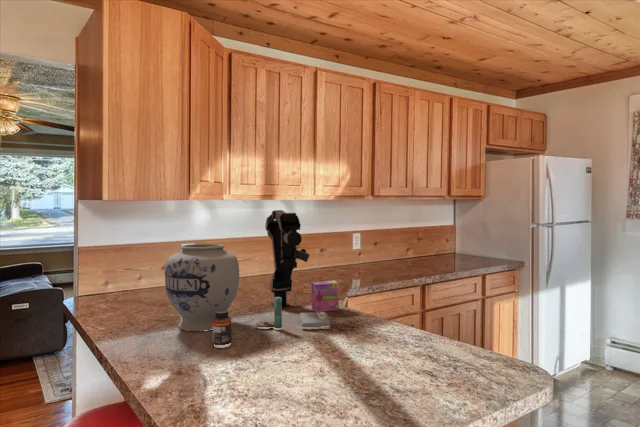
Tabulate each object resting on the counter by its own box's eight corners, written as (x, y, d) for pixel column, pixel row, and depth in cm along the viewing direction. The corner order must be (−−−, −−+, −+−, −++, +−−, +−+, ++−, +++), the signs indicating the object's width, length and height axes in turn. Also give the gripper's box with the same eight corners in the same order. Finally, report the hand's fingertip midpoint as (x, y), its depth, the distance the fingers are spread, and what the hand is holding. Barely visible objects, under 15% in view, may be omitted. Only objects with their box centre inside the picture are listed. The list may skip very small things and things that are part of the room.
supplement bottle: (224, 341, 142) (223, 307, 142) (235, 345, 139) (235, 310, 138) (208, 346, 138) (208, 311, 137) (220, 350, 134) (220, 314, 133)
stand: (300, 319, 168) (300, 307, 168) (325, 318, 169) (325, 306, 169) (302, 330, 154) (302, 316, 154) (330, 329, 155) (330, 315, 155)
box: (314, 312, 178) (314, 284, 177) (311, 309, 183) (311, 281, 183) (338, 310, 180) (338, 282, 180) (334, 307, 186) (334, 280, 185)
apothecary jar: (166, 319, 169) (164, 242, 168) (234, 312, 178) (233, 240, 177) (165, 340, 144) (163, 250, 143) (245, 331, 153) (244, 247, 152)
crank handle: (268, 323, 163) (267, 292, 163) (284, 329, 155) (284, 297, 155) (252, 326, 159) (251, 295, 158) (268, 333, 151) (268, 300, 150)
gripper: (309, 246, 166) (310, 286, 167) (306, 241, 185) (306, 277, 185) (280, 246, 165) (281, 287, 166) (280, 241, 184) (280, 278, 184)
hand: (288, 282), depth 175 cm, fingers closed
